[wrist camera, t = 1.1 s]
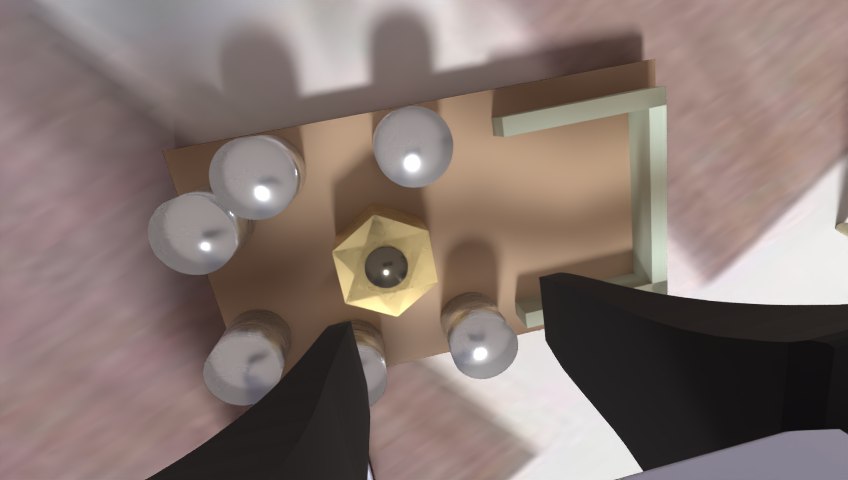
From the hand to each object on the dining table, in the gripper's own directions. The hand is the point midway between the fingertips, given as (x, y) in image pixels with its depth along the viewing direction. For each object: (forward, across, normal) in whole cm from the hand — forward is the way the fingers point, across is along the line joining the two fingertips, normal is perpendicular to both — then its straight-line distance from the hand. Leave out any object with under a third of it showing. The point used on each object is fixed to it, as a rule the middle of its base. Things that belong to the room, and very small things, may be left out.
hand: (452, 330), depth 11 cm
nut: (+9, +2, 0) cm, 9 cm away
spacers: (+9, +3, 0) cm, 9 cm away
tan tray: (+10, -2, 0) cm, 10 cm away
